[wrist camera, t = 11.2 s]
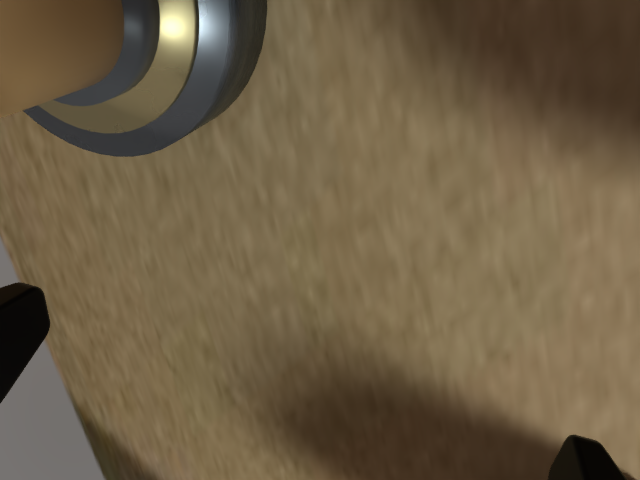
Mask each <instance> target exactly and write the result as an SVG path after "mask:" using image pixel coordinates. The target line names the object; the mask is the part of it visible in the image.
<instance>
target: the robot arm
mask: <svg viewBox="0 0 640 480" xmlns="http://www.w3.org/2000/svg"><path fill="white" fill-rule="evenodd" d="M49 328H50V319H49V314H48V310H47V305H46V300H45V296H44V293H43V291H42V290H41V288H39V287H36V286H33V285H29V284H25V283H14V284H11V285H8V286H5V287H2V288H0V403H1V402H2V400H3V399H4V398H5V396H6V395H7V393H8V392H9V391H10V389H11V388H12V386H13V384H14V383H15V381H16V380H17V379H18V377H19V376H20V374H21V373H22V371H23V370H24V368H25V367H26V365H27V364H28V362H29V361H30V360H31V358H32V357H33V355H34V353H35V352H36V350H37V349H38V348H39V346H40V345H41V343H42V342H43V340H44V339H45V337H46V336H47V334H48V331H49ZM548 480H627V479H626V478H625V476H624V475H623V474H622V472H621V471H620V469H619V468H618V467H617V465H616V464H615V462H614V461H613V460H612V458H611V457H610V455H609V454H608V452H607V451H606V450H605V448H604V447H603V446H602V445H601V444H600V443H599V442H598V441H596V440H592V439H589V438H585V437H581V436H578V435H570V436H568V437H567V439H566V440H565V442H564V444H563V445H562V447H561V449H560V451H559V453H558V455H557V457H556V458H555V460H554V462H553V464H552V466H551V468H550V471H549V476H548Z"/></svg>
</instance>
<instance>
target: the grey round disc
mask: <svg viewBox="0 0 640 480" xmlns="http://www.w3.org/2000/svg"><path fill="white" fill-rule="evenodd" d="M158 2H159V9H160V36H159V42H158V47H157V51H156V54H155V57H154V60H153V62H152V65H151V67H150V69H149V71H148V72H147V73H146V75H145V76H144V78H143V79H142V80H141V81H140V82H139V83H138V84H137V85H136V86H135V87H134V88H132V89H131V90H129V91H128V92H126V93H124V94H122V95H120V96H117V97H115V98H112V99H110V100H107V101H105V102H102V103H99V104H96V105H91V106H72V105H67V104H63V103H60V102H57V101H54V100H51V101H48V102H45V103H42V104H39V105H37V106H34V107H31V108H28V109H25V110H23V111H24V112H25V113H26V114H27V115H29V116H30V117H31V118H32V119H33V120H34V121H36V122H37V123H38V124H39V125H41V126H42V127H44V128H45V129H47V130H48V131H49V132H51V133H52V134H54V135H56V136H57V137H59V138H61V139H63V140H65V141H66V142H68V143H70V144H73V145H75V146H77V147H80V148H82V149H85V150H88V151H92V152H95V153H99V154H103V155H110V156H138V155H145V154H149V153H152V152H155V151H158V150H161V149H163V148H165V147H167V146H169V145H171V144H173V143H174V142H176V141H178V140H180V139H181V138H183V137H184V136H186V135H188V134H189V133H191V132H193V131H194V130H196V129H198V128H199V127H201V126H203V125H204V124H206V123H208V122H209V121H211V120H212V119H214V118H216V117H217V116H218V115H220V114H221V113H222V112H223V111H225V110H226V109H227V108H228V107H229V106H230V105H231V104H232V103H233V102H234V101H235V100H236V99H237V98H238V96H239V95H240V93H241V92H242V91H243V89H244V88H245V86H246V85H247V83H248V81H249V79H250V77H251V75H252V73H253V71H254V69H255V67H256V64H257V61H258V58H259V55H260V52H261V49H262V44H263V39H264V34H265V27H266V15H267V0H158Z"/></svg>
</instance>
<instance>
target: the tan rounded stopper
mask: <svg viewBox="0 0 640 480" xmlns="http://www.w3.org/2000/svg"><path fill="white" fill-rule="evenodd" d="M159 36H160V9H159V2H158V0H0V118H3V117H6V116H9V115H12V114H14V113H17V112H20V111H23V110H25V109H28V108H31V107H34V106H37V105H39V104H42V103H45V102H48V101H51V100H54V101H57V102H60V103H63V104H67V105H72V106H91V105H96V104H99V103H102V102H105V101H107V100H110V99H112V98H115V97H117V96H120V95H122V94H124V93H126V92H128V91H129V90H131V89H132V88H134V87H135V86H136V85H137V84H138V83H139V82H140V81H141V80H142V79H143V78H144V76H145V75H146V73H147V72H148V71H149V69H150V67H151V65H152V62H153V60H154V57H155V54H156V51H157V47H158V42H159Z"/></svg>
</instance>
